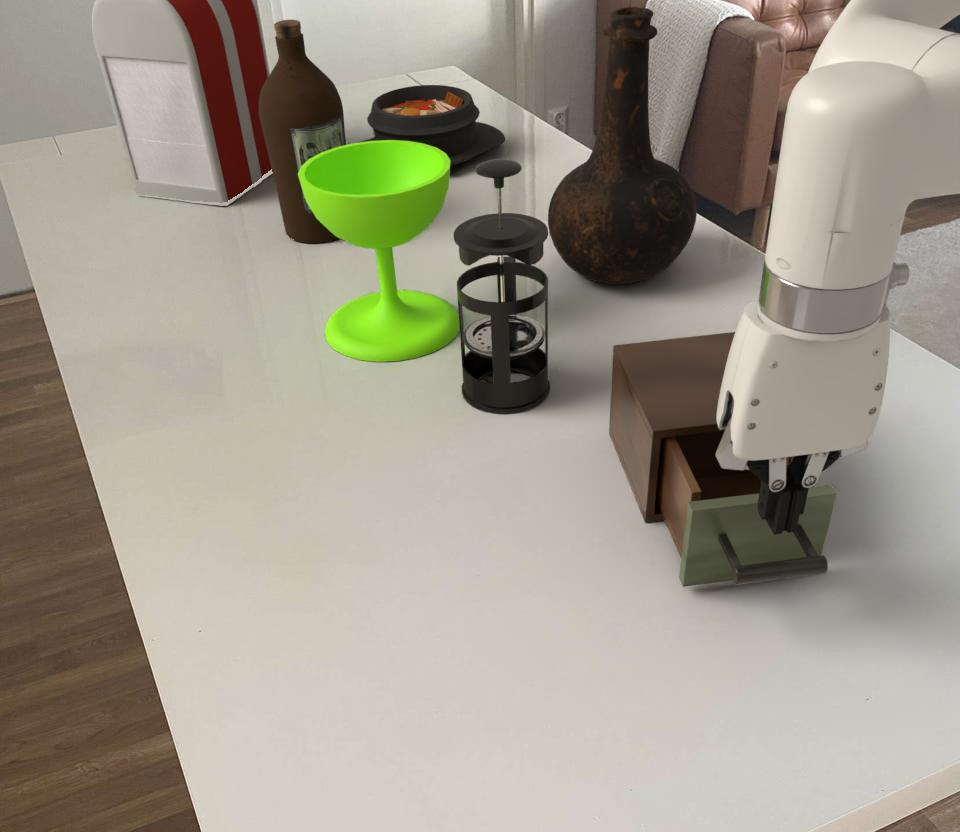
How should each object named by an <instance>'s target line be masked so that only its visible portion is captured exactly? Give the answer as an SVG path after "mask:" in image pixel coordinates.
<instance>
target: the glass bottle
mask: <svg viewBox="0 0 960 832" xmlns="http://www.w3.org/2000/svg"><path fill="white" fill-rule="evenodd" d="M653 17H654V12H653V10H652V9H650V8H647V7H638V6H626V7H621V8H618V9H615V10H613V11H612V12H611V13H610V14H609V26H608V27H606V28H604V29H603V30H601V34H602V35H603V36H605V37H607V36H608V37H609V40H608V41H609V42H608V43H609V44H608V54H607V62H606V63H607V65H606V74H605V82H604V90H603V99H602V106H601V110H600V117H599V123H598V127H597V132H596V137H595V140H594V144H593V147H592V151H591V153H590V155H589V156H588V159H587V160H586V161H585V162H583V163H581V164H580V165H577V167H575V168H574V169H572V170H571V171H570V172H568V173H567V174H566V175H565V177H563V178H562V179H561V180H560V182H559V183H558V185H557V186H556V188H555V190H554V192H553V194H552V197H551V199H550V202H549V206H548V211H547V212H548V214H547V228H548V233H549V236H550V238H551V241H552V244H553V246H554V249H555V250H556V252H557V254H558V255H559V257H560V258H561V259H562V260H563V262H564V263H565V264H566V265H567V266H568V267H569V268H570V269H572V271H574V272H575V273H577V274H579V276H582V277H584V278H585V279H589V280H591V281H595V282H599V283H603V284H612V285H618V284H619V285H621V284H631V283H637V282H641V281H644V280H648V279H650V278H652V277H654V276H656V275H658V274H660V273H661V272H663V271H665V269H667V268H668V267H669V266H671V265H672V264H673V263H674V262H675V261H676V260H677V259H678V258H679V256H680V255H681V253H682V252H683V251H684V249H685V248H686V247H687V245H688V243H689V241H690V239H691V237H692V235H693V232H694V231H695V230H694V229H695V226H696V223H697V222H696V221H697V216H698V215H697V212H698V208H697V204H696V197H695V193H694V190H693V188H692V186H691V185H690V183H689V182H688V180H687V178H686V177H685V176H684V175H683V174H682V173H681V172H680V171H679V170H678V169H676V168H674V167H673V166H671V165H670V164H669V163H666V162H664V161H662V160H659V159H656V158H655V157H654V154H653V150H652V145H651V136H650V134H651V133H650V120H649V119H650V117H649V115H650V114H649V108H650V107H649V70H650V69H649V68H650V67H649V64H650V63H649V62H650V41H651V40H653V39H654V38H656V36H657V35H658V29H657V27H656V26H654V25H652V24H651V22H652V18H653Z"/></svg>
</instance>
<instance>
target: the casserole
mask: <svg viewBox="0 0 960 832" xmlns="http://www.w3.org/2000/svg"><path fill="white" fill-rule="evenodd" d="M370 109H371V110H370V113H369V114H368V116H367V117H366V121H367V124H368V125H369V126H370V127H371V129H372V131H373V134H374V137H371V138H368V139H364V140H361V141H358V142H357V143H360V142H367V141H380V140H399V141H411V142H417V143H423V144H427V145H430V146H433V147H436V148H438V149H440V150H441V151H443V152H444V153H446V154H447V156H448V157H449V159H450V167H452V166H455V165H458V164H461V163H463V162H466V161H469V160H470V159H473V158H475V157H476V156H478V155H481V154H483V153H485V152H488V151H491V150H494V149H497V148H499V147H501V146H502V145H503V144H505V142H506V136H505V134H504V133H503V132H502V131H501V130H500V129H499V128H497V127H495V126H493V125H490V124H488V123H485V122H480V121H477V120H478V118H479V116H480V113H481V112H480V109H479V107H477V105H476V104H475V102H474V99H473V96H472V94H471V93H470V92H469V91H467V90H465V89H462V88H460V87H455V86H450V85H442V84H441V85H440V84H421V85H412V86H406V87H401V88H396V89H393V90H390V91H387V92H384V93H383V94H380V95H379V96H377V97H376V98H375V99H374V100H373V102H372V104H371V108H370Z"/></svg>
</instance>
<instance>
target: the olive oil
mask: <svg viewBox="0 0 960 832" xmlns="http://www.w3.org/2000/svg"><path fill="white" fill-rule="evenodd" d="M301 25H302V24H301V21H300V20H298V19H282V20H279V21H276V22H275V23H274V24H273V27H274V31H275V34H276V35H275V37H274V39H275V44H276V49H277V54H278V59H277V62H275V65H274V67H273V68H272V69H271V72H270V73H269V77H268V78H267V80H266V82H265V83H264V85H263V87H262V89H261V92H260V97H259V117H260V122H261V126H262V130H263V134H264V138H265V142H266V147H267V151H268V155H269V159H270V164H271V168H272V172H273V174H272V177H273V180H274V181H273V182H274V185H275V189H276V193H277V194H276V195H277V199H278V203H279V207H280V211H281V218H282V222H283V226H284V231H285V234H286V236H287V235H288V236H289V237H290V238H289V237H288V236H287V237H288V238H289V239H291V238H292V239H294V240H293V241H295V240H296V241H295V242H298V241H300V242H299V243H302V242H306V243H305V244H322V243H329V242H333V241H336V240H339V239H340V238H338V237H336V236H335V235H334V234H333V233H331V232H330V231H329V230H328V229H327V228H326V227H325V226H324V225H323V224H322V223H321V222H320V221H319V220H318V219H317V218H316V217H315V215H314V214H313V212H312V210H311V209H310V207H309V205H308V204H307V202H306V199H305V197H304V194H303V190H302V187H301V184H300V180H299V177H298V172H299V170H300V167H301V166H302V165H303V164H304V163H305V162H306V161H307V160H308V159H310V158H312V157H314V156H316V155H317V154H319V153H322V152H324V151H327V150H330V149H333V148H336V147H340V146H344V145H347V141H346V129H345V116H344V107H343V102H342V98H341V96H340V93H339V91H338V88H337V87H336V85H335V84H334V82H333V81H332V80H331V78H330V77H329V76H328V75H327V74H326V73H324V71H322V70H321V69H320V68H319V67H318V66H317V65H316V64H315V63H314V62H313V61H312V60H310V59H309V57H308V56H307V53H306V47H305V39H304V34H303V33H302V26H301ZM292 239H291V240H292ZM307 242H308V243H307Z"/></svg>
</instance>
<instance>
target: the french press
mask: <svg viewBox="0 0 960 832" xmlns="http://www.w3.org/2000/svg"><path fill="white" fill-rule="evenodd" d="M522 169H523V168H522V165H521V163H519V162H518V161H515V160H512V159H505V158H495V159H490V160H486V161H483V162H481V163H479V164H477V166H475V173H476V174H477V175H478V176H480V177H483V178H487V179H493V187H494V188H495V189H496V191H497V192H496V194H497V212H495V213H487V214H482V215H478V216H475V217H472V218H469V219H467V220H464V221H463V222H461V223H460V224H459V225H458V226H457V227H455V229H454V230H453V241H454V243H455V244H456V245H457V246H458V255H459V261H460V262H461V263H462V264H463V265H465V266H468V267H469V266H471V265H473V264H475V263H477V262H479V261H480V260H482V259H484V258H487V257H490V256H495V257H497V260H496V261H494V262H493V261H492V262H486V263H483V264H479V265H476V266H473V267H471V268H469V269H467V270H465V272H462V273H461V275H459V276H458V279H457V281H456V292H457V293H456V294H457V295H456V297H457V309H458V311H457V312H458V315H459V326H460V330H459V340H460V341H459V342H460V354H461V355H460V356H461V370H462V371H461V372H462V384H461V395H462V397H463V399H464V401H465V402H466V403H467V404H468V405H470V406H471V407H473V408H475V409H477V410H479V411H483V412H486V413H492V414H514V413H521V412H525V411H528V410H531V409H533V408H535V407H537V406H539V405H541V404H542V403H544V401H546V399H548V396H549V395H550V392H551V381H550V380H549V277H548V275H547V274H546V272H544V271H543V270H542V269H541V268H539V267H537V266H535V265H536V264H537V263H538V262H540V261H541V260H542V258H543V257H544V243H545V241H546V240H547V239H548V236H549V227H548V225H546V223H545V222H543V221H542V220H540V219H539V218H537V217H534V216H530V215H527V214H522V213H513V212H503V205H502V202H503V201H502V200H503V199H502V198H503V197H502V188H504V187H505V178H509V177H510V178H511V177H513V176H516V175H518V174H519V173H520V172H521V171H522ZM517 260H518V261H520V262H518V261H517ZM494 276H496V277H497V278H496V279H497V280H496V282H497V301H488V300H482V299H481V300H480V299H478V298H474V297H472V296H469V295H468V294H466V293H465V292H464V291H462V290H463V289H464V288H465V287H466V286H468V285H469V284H471V283H473V282H475V281H478V280H481V279H483V278H488V277H494ZM517 276H518V277H524V278H528V279H531V280H534V281H535V282H537V283H539V284H540V285H541V286H543V287H542V289H540V290H539V291H538V292H536V293H535V294H532V295H530V296H527V297H525V298H522V299H517ZM542 304H544V326H543V325H542V324H541V323H540V322H538V321H537V320H535V319H533V318H531V317H527V316H524V315H520V314H523V313H527V312H529V311H532V310H535V309H536V308H539V307H540V306H542ZM463 308H465V309H467V310H468V311H470V312H473V313H476V314H480V315H483V316H485V315H486V317H483V318H480V319H477V320H476V321H473V322H471V324H469V325H468V326H466V328H465V329H464V314H463ZM543 343H544V350H543V349H542V348H541V347H542V345H543ZM466 348H467V350H469V351H468V352H467V353H466ZM511 372H518V373H523V374H525V375H528V376H530V377H529V378H527V379H523V380H519V381H513V382H511V381H512V379H511ZM489 374H492V382H491V381H486V380H482V379H481V378H483V377H484V376H486V375H489Z"/></svg>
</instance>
